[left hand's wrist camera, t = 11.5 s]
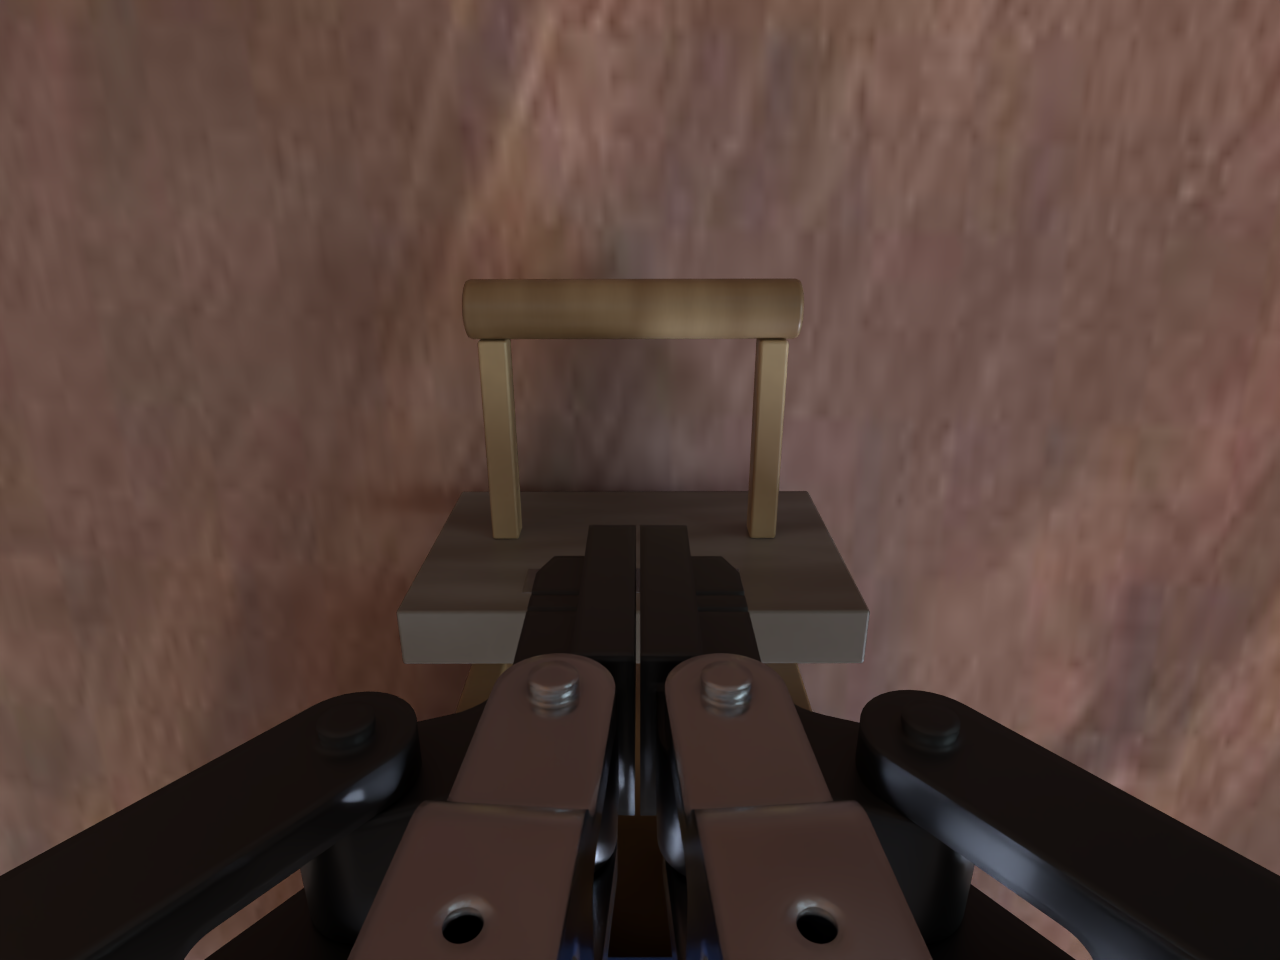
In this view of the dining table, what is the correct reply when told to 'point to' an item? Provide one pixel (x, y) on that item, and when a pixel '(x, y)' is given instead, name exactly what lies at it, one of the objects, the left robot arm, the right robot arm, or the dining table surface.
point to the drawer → (632, 521)
